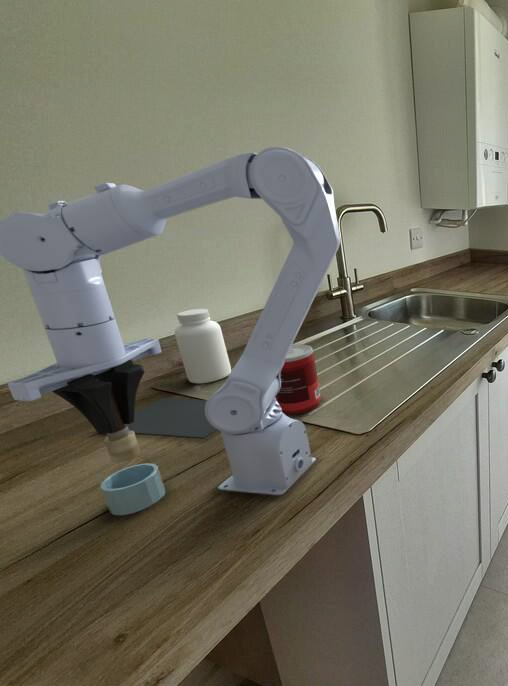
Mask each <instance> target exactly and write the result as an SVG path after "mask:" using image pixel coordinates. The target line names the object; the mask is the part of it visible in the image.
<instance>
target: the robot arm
mask: <svg viewBox="0 0 508 686" xmlns="http://www.w3.org/2000/svg"><path fill="white" fill-rule="evenodd" d="M94 190H95V191H96V192H95V193H92V194H90V195H86V196H84V197H81V198H77V199H74V200H72V201H69V202H66V201H65V200H56V201H51V202H50V203H48V204H47V207H49V209H48V211H47V212H46V213H36V212H29V211H17V212H13V213H11V214H10V215H9V216H8V217H5V218H3V219H2V220H1V221H0V255H1V256H2V257H3V258H4V259H5V260H7V261H8V262H9V263H11V264H12V265H14V266H16V267H17V268H18V267H19V268H20V269H22V272H23V275H24V277H25V280H26V283H27V285H28V288H29V291H30V294H31V297H32V299H33V302H34V304H35V307H36V310H37V312H38V316H39V318H40V320H41V323H42V326H43V329H44V332H45V333H46V337H47V339H48V343H49V345H50V347H51V350H52V352H53V355H54V358H55V361H56V362H55V363H53V364H51V365H49V366H46V367H44V368H42V369H39V370H38V371H35V372H33V373H31V374H28V375H27V376H24V377H22V378H19V379H17V380H13V381H11V382H8V383H7V386H8V389H9V391H10V393H11V396H12V398H13V400H14V401H20V402H22V401H23V402H33V401H36V400H38V399H40V398H42V395H44V394H47V393H51V392H52V393H53V394H55V395H57V396H59V397H60V398H62V399H63V400H64V401H66V402H67V403H69V404H70V405H72V406H73V408H75V409H76V410H78V411H79V412H80V413H81V414H82V415H83V417H85V418H86V420H87V421H88V422H89V423H90V425H91V426H92V427H93V429H95V431H96V432H97V433H100V434H107V433H113V432H115V431H117V423H116V419H115V416H114V413H113V410H112V406H111V384H112V387H113V390H114V393H115V396H116V399H117V402H118V405H119V408H120V411H121V414H122V417H123V420H124V423H125V424H131V423H133V422H134V412H136V411H135V408H136V400H137V392H138V389H139V385H140V382H141V381H142V378H143V376H144V374H145V369H144V366H143V365H142V364H135V363H134V361H138V360H140V359H143V358H146V357H148V356H155V355H156V356H157V355H158V354H161V353H162V352H163V351H162V348H161V345H160V340H159V338H142V339H138V340H136V341H135V340H134V341H132V342H127V343H124V342H123V338H122V336H121V332H120V329H119V326H118V323H117V320H116V316H115V314H114V311H113V306H112V304H111V300H110V298H109V293H108V291H107V288H106V285H105V282H104V279H103V275H102V273H103V270H102V267H101V263H100V262H101V258H102V257H103V256H105V255H107V254H110V253H112V252H116V251H119V250H122V249H125V248H126V247H127V248H128V247H130V246H132V245H135V244H137V243H141V242H144V241H147V240H150V239H151V238H155V237H157V236H161V235H162V234H163V232H164V230H165V227H166V225H167V224H166V223H167V221H168V219H170V218H173V217H176V216H179V215H182V214H185V213H188V212H192V211H195V210H198V209H200V208H204V207H207V206H211V205H214V204H217V203H220V202H224V201H226V200H230V199H233V198H242V199H251V200H262V201H263V202H264V203H265V204H266V205H268V207H269V208H271V209H272V210H273V212H275V213H276V214H277V215H278V216H279V218H280V220H281V221H282V223H283V225H284V227H285V228H286V230H287V232H288V234H289V236H290V238H291V239H292V242H293V244H292V246H291V248H290V251H289V253H288V254H287V257H286V260H285V261H284V263H283V266H282V268H281V270H280V272H279V273H278V277H277V279H276V281H275V283H274V285H273V287H272V289H271V291H270V293H269V296H268V297H267V300H266V303H265V305H264V306H263V309H262V311H261V313H260V315H259V318H258V319H257V322H256V324H255V326H254V328H253V330H252V332H251V335H250V336H249V339H248V341H247V343H246V346H245V348H244V349H243V351H242V354H241V356H240V357H239V359H238V361H237V362H236V363H235V365H234V367H233V368H232V369H231V373H230V374H229V375H228V376H227V379H226V381H225V382H224V383H223V384H222V385H221V387H220V388H219V389H218V390H216V391H215V392H214V393H212V394H211V395H210V396H209V397H208V399H206V400H207V402H206V405H205V415H206V418H207V420H208V421H209V423H210V424H211V425H212V426H213V427H215V428H216V429H218V430H217V431H220V434H221V438H222V441H223V445H224V449H225V452H226V456H227V460H228V463H229V464H228V465H229V468H230V471H231V475H230V476H229V477H228V478H226V479H225V480H224V481H223V482H221V484H219V486H217V489H218V490H219V491H226V492H237V493H238V492H239V493H247V494H248V493H250V494H258V495H259V494H260V495H270V496H283V495H284V494H285V493H286V492H287V491H288V490H289V489H290V488H291V487H292V486H293V485H294V484H295V483H296V482H297V481H298V480H299V478H300V477H301V476H302V475H304V473H305V472H306V471H307V470H308V469H309V468H310V467H311V466H312V465H314V463H315V462H316V460H317V459H316V457H314V456H313V457H312V452H311V448H310V447H311V446H310V442H309V436H308V430H307V428H306V425H305V424H304V423H303V421H301V420H298V419H294V418H291V417H289V416H287V414H284V413H282V410H281V407H280V405H279V404H278V402H277V401H276V398H275V396H276V395H277V394H278V392H279V390H280V388H281V379H280V373H281V370H282V367H283V365H284V362H285V358H286V356H287V354H288V352H289V350H290V348H291V346H292V345H294V341H295V340H296V338H297V335H298V333H299V331H300V329H301V327H302V325H303V323H304V321H305V319H306V317H307V315H308V313H309V310H310V308H311V307H312V304H313V303H314V300H315V298H316V296H317V294H318V292H319V290H320V288H321V286H322V283H323V282H324V279H325V278H326V275H327V273H328V271H329V269H330V267H331V264H332V262H333V260H334V259H335V256H336V254H337V252H338V250H339V249H340V245H341V234H340V229H339V223H338V217H337V213H336V212H337V211H336V207H335V198H334V189H333V187H332V186H331V184H330V182H329V180H328V179H327V177H326V175H325V173H324V171H323V170H322V168H321V167H320V165H318V163H316V162H315V161H314V160H313V159H311V158H309V157H307V156H304V155H301V154H300V153H299V152H298V151H295V150H293V149H291V148H288V147H285V146H269V147H266V148H264V149H262V150H260V151H259V152H258V153H257V152H254V151H252V152H251V151H250V152H245V153H240V154H237V155H234V156H231V157H228V158H225V159H222V160H220V161H217V162H215V163H213V164H210V165H207V166H205V167H202V168H199V169H197V170H195V171H192V172H190V173H187V174H185V175H182V176H179V177H177V178H175V179H172V180H169V181H166V182H165V183H162V184H159V185H157V186H154V187H152V188H149V189H146V190H142V189H141V188H138V187H135V186H131V185H129V184H126V183H125V184H119V185H117V184H115V182H114V183H113V182H102V183H100V184H96V185H94Z"/></svg>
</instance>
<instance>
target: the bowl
mask: <svg viewBox="0 0 508 686" xmlns="http://www.w3.org/2000/svg"><path fill="white" fill-rule="evenodd" d="M99 488H100V492H101V493H102V497H103V498H104V502H105V505H106V506H107V509H108V511H109V513H110V514H112V515H115V516H125V515H132V514H134V513H137V512H140V511H142V510H145V509H147V508H150V507H151V506H153V505H155V504H156V503H157V502H159V501H160V500H161V499H162V498H163V497H164V496H165V494H166V487H165V484H164V481H163V478H162V475H161V472H160V469H159V466H158V465H157V464H155V463H149V462H145V463H139V464H133V465H131V466H127V467H125V468H121V469H120V470H117V471H116V472H113V473H111V475H109V476H107V477H106V478H105V479H103V481H102V482H100V486H99Z"/></svg>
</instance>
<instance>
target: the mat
mask: <svg viewBox="0 0 508 686" xmlns="http://www.w3.org/2000/svg"><path fill="white" fill-rule="evenodd" d="M207 400H208V399H193V398H176V397H162V398H160V399H158V400H157V401H153V402H152V403H150V404H148V405H145V406H144V407H142V408H139V409H138V410H136V411H135V412H134V422H133V423H131V424H125V425H127V426H128V428H129V430H132V431H134V433H135V435H137V434H138V435H150V436H163V437H164V436H165V437H175V438H176V437H179V438H192V439H206V438H208V437H210V436H211V435H212V434H214V433H215V432H217V431H219V430H218V429H216V428H215V427H213V426H212V425H211V424H210V423H209V421H208V420H207V418H206V415H205V405H206V402H207Z"/></svg>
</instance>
